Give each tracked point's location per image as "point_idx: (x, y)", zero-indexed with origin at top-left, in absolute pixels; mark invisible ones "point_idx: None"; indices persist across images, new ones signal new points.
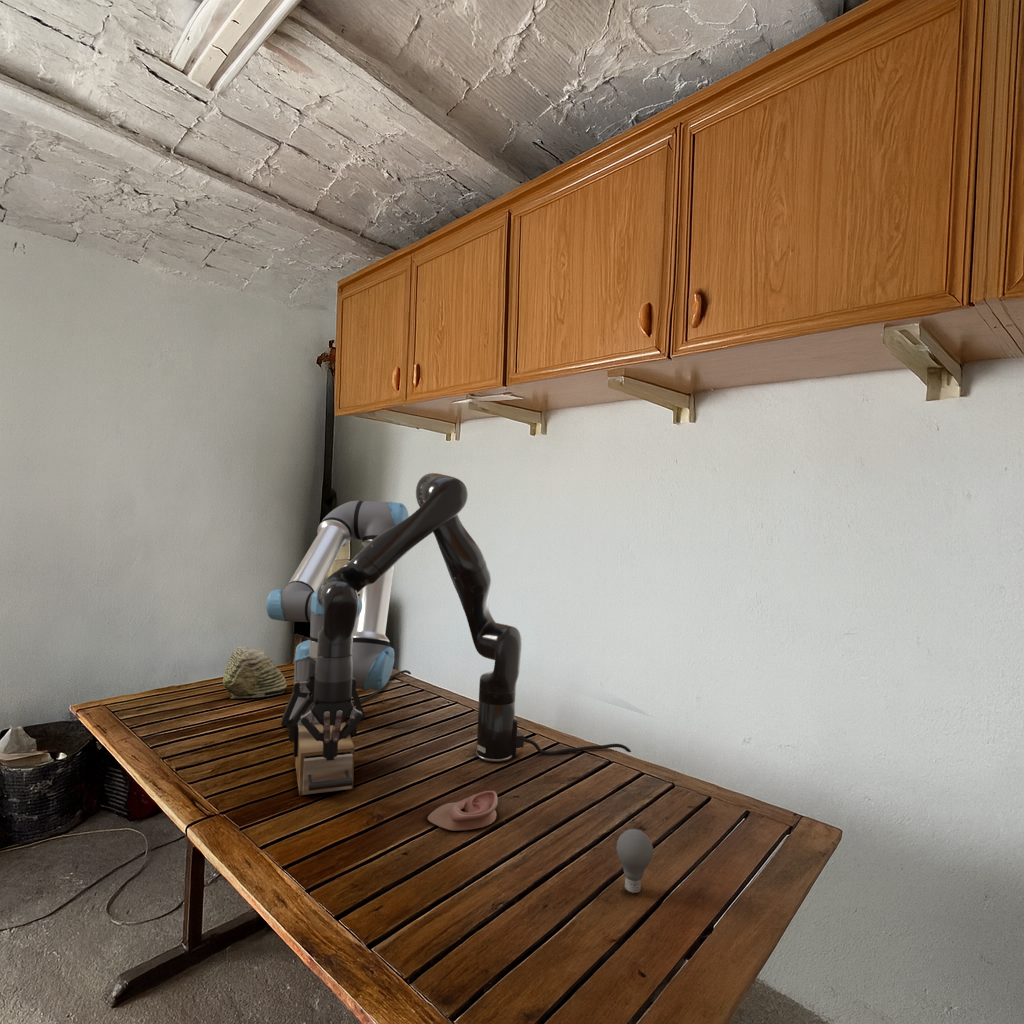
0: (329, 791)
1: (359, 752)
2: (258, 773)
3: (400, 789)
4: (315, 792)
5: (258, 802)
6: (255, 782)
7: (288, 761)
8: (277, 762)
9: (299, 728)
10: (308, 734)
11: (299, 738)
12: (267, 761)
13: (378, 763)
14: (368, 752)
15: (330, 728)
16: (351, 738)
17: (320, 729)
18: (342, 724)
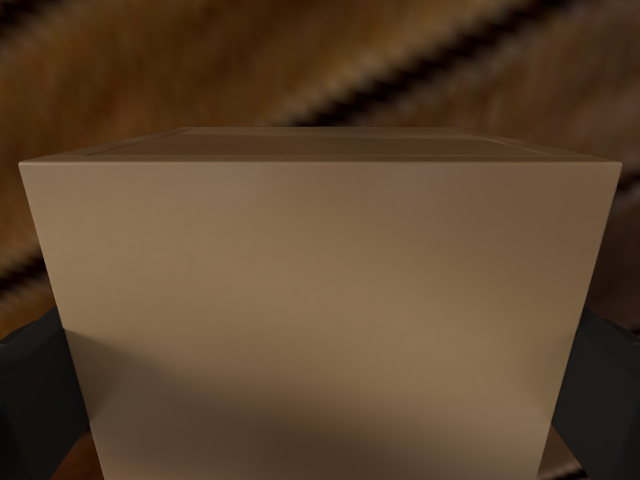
0: None
1: (578, 37)
2: (4, 190)
3: (583, 472)
4: None
5: (78, 441)
6: (19, 285)
7: (139, 64)
8: (74, 61)
9: (64, 240)
10: (179, 412)
11: (108, 473)
12: (8, 26)
13: (612, 232)
14: (630, 55)
15: (402, 321)
16: None
17: (296, 324)
18: (561, 236)
